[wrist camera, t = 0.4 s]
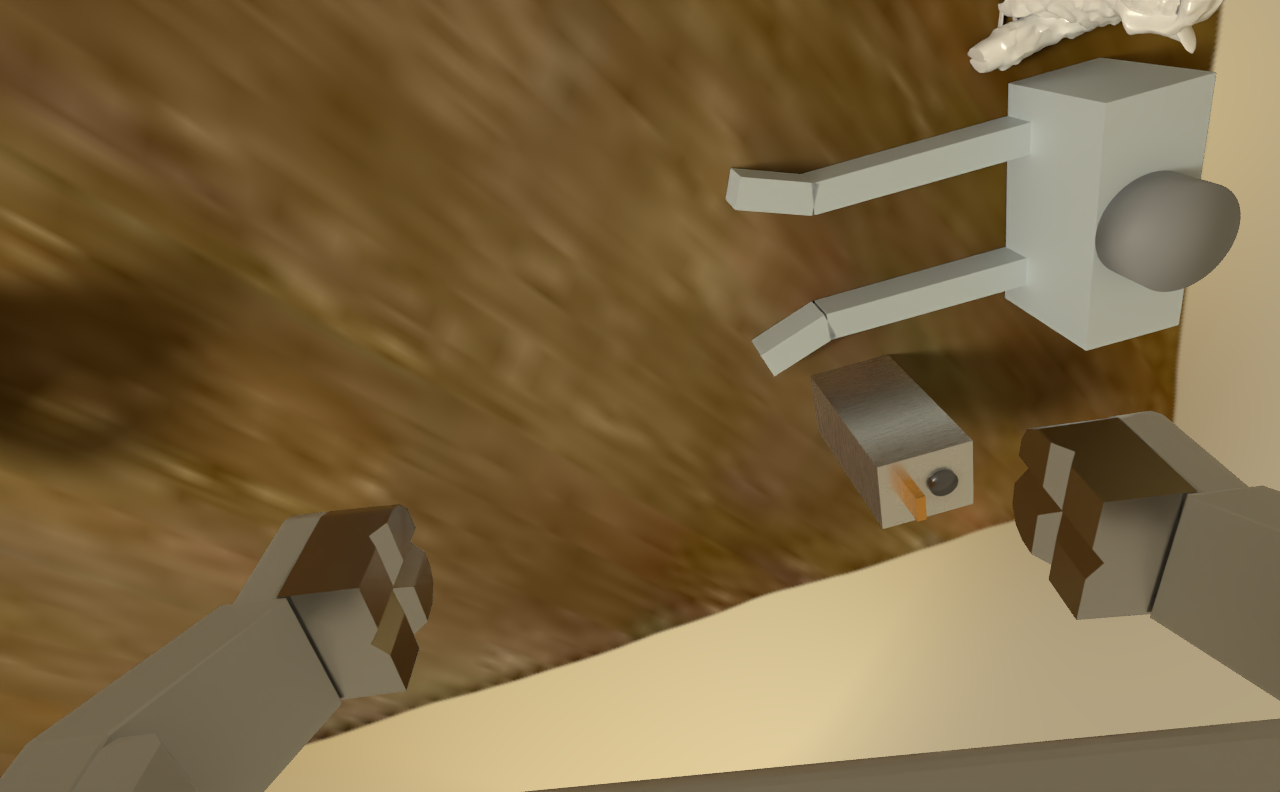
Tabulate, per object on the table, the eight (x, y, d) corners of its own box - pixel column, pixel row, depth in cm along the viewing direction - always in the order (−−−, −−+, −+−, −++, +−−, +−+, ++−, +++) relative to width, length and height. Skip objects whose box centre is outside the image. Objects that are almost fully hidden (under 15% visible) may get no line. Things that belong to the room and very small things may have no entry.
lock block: (810, 376, 55) (889, 484, 43) (887, 354, 55) (988, 457, 43) (818, 430, 57) (895, 547, 46) (892, 409, 57) (988, 521, 46)
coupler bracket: (719, 164, 46) (775, 216, 36) (1100, 57, 46) (1266, 78, 36) (756, 367, 54) (811, 459, 44) (1084, 275, 54) (1217, 345, 44)
